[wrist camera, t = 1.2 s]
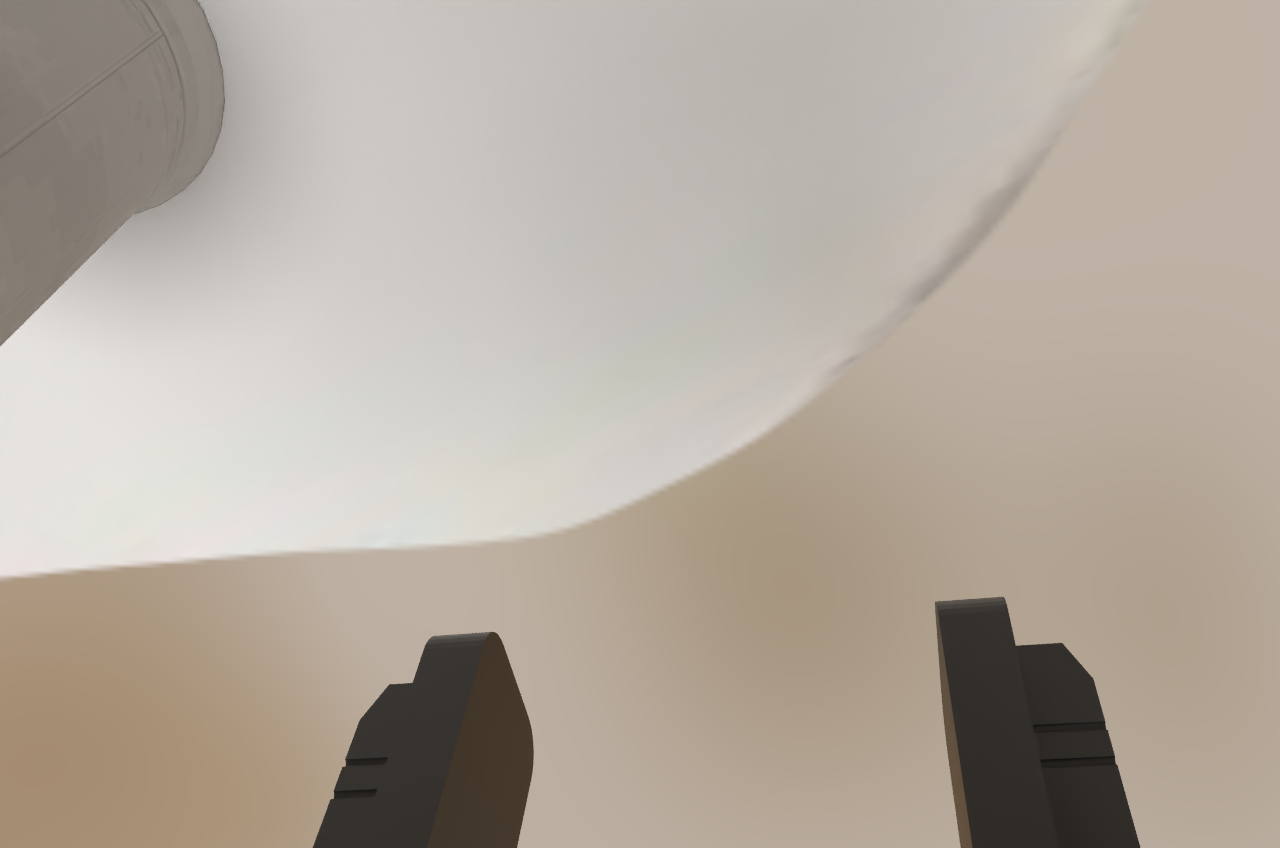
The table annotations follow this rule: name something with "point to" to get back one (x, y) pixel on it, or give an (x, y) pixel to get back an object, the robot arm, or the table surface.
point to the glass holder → (94, 129)
